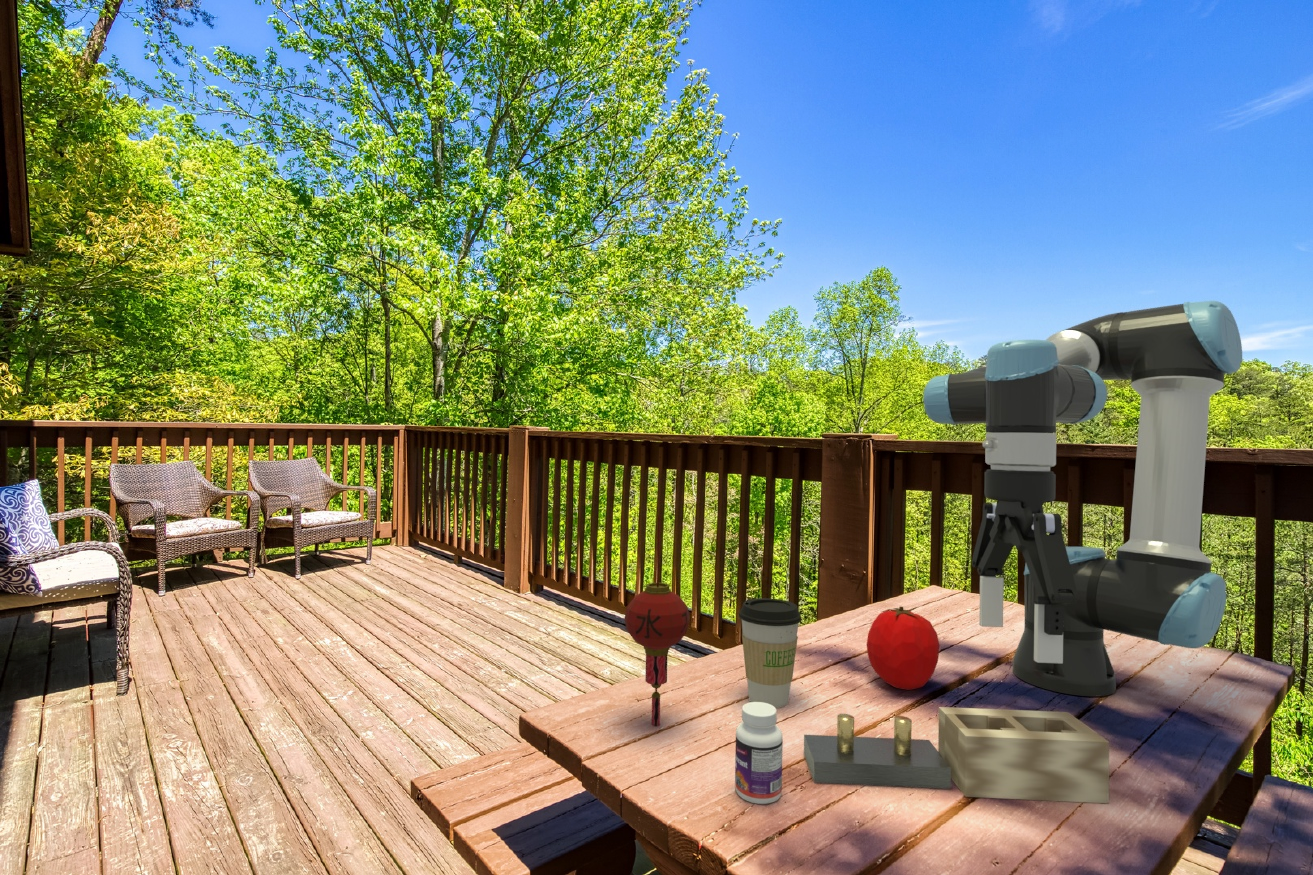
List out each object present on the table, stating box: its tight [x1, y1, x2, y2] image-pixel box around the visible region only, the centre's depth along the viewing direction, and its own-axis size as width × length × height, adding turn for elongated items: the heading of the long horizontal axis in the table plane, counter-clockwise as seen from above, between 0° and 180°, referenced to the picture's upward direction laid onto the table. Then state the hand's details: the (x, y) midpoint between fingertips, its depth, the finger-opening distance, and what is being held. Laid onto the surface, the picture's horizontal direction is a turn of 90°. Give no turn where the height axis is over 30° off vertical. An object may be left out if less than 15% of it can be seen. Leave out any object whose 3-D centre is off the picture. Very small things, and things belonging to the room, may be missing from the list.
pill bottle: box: [734, 701, 784, 805], centre depth 73 cm, size 5×5×10 cm
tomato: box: [866, 606, 940, 691], centre depth 106 cm, size 12×12×13 cm
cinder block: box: [937, 706, 1110, 804], centre depth 76 cm, size 16×8×7 cm, turn 87°
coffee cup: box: [738, 597, 802, 709], centre depth 99 cm, size 10×10×15 cm
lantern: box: [624, 514, 691, 727], centre depth 90 cm, size 10×10×30 cm
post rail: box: [803, 713, 952, 790], centre depth 78 cm, size 16×7×6 cm, turn 87°
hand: (1017, 642), depth 77 cm, fingers open, 13 cm apart
